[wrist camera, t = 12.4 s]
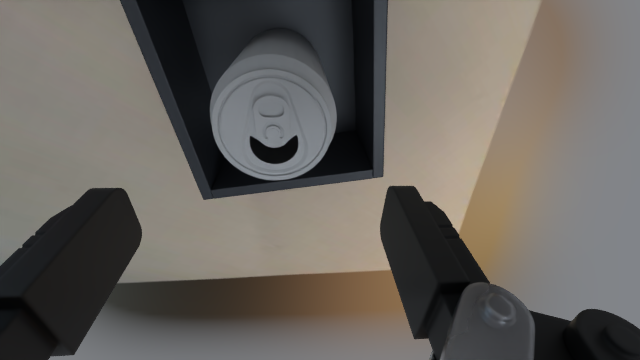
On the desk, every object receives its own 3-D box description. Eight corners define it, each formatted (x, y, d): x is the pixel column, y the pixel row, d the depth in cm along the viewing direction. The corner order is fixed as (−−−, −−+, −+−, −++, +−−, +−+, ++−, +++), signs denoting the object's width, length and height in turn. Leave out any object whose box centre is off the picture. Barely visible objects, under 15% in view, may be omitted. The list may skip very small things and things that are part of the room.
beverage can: (247, 109, 25) (216, 190, 15) (236, 26, 22) (187, 60, 12) (320, 108, 26) (337, 186, 16) (321, 26, 22) (344, 60, 12)
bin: (360, -42, 20) (389, -55, 14) (363, 134, 28) (383, 177, 22) (167, -19, 20) (111, -20, 14) (223, 151, 28) (203, 200, 22)
